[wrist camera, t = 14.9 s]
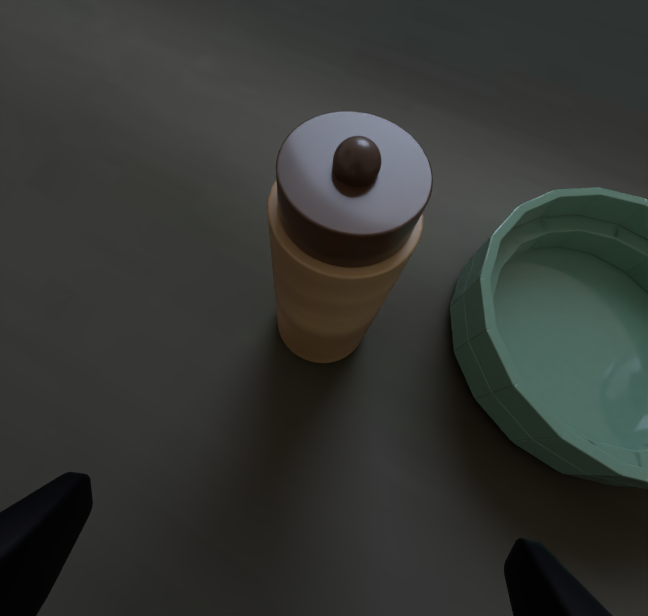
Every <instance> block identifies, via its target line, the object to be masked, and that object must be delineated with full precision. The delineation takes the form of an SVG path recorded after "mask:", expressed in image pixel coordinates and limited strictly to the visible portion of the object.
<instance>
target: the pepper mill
mask: <svg viewBox="0 0 648 616" xmlns="http://www.w3.org/2000/svg"><path fill="white" fill-rule="evenodd" d="M432 184H433V178H432V170H431V166H430V162H429V160H428V158H427V155H426V154H425V152H424V150H423V149H422V147H421V146H420V145H419V143H418V142H417V141H416V140H415V139H414V138H413V137H412V136H411V135H410V134H409V133H408V132H406V131H405V130H404V129H402V128H401V127H399V126H398V125H396V124H394V123H392V122H390V121H389V120H386V119H384V118H381V117H379V116H375V115H372V114H368V113H362V112H354V111H339V112H331V113H326V114H322V115H319V116H316V117H313V118H311V119H309V120H307V121H305V122H303V123H302V124H300V125H299V126H298V127H296V128H295V129H294V130H293V131H292V132H291V133H290V134H289V135H288V136H287V138H286V139H285V141H284V142H283V144H282V146H281V148H280V150H279V153H278V156H277V161H276V181H275V182H274V184H273V186H272V189H271V191H270V194H269V198H268V206H267V210H268V224H269V235H270V246H271V257H272V268H273V279H274V289H275V300H276V311H277V322H278V329H279V333H280V336H281V338H282V340H283V342H284V343H285V344H286V346H287V347H288V348H289V349H290V350H291V351H292V352H293V353H294V354H296V355H297V356H299V357H301V358H303V359H305V360H308V361H311V362H316V363H330V362H335V361H338V360H341V359H343V358H345V357H346V356H348V355H349V354H351V353H352V352H353V351H354V350H355V349H356V348H357V346H358V345H359V343H360V342H361V340H362V338H363V337H364V335H365V333H366V332H367V330H368V328H369V327H370V325H371V323H372V321H373V320H374V318H375V316H376V315H377V313H378V311H379V309H380V308H381V306H382V304H383V303H384V301H385V299H386V298H387V296H388V294H389V292H390V291H391V289H392V287H393V286H394V284H395V282H396V280H397V279H398V277H399V275H400V274H401V272H402V270H403V269H404V267H405V265H406V263H407V262H408V260H409V258H410V257H411V255H412V253H413V252H414V250H415V248H416V246H417V245H418V242H419V240H420V238H421V234H422V230H423V221H424V218H423V211H424V209H425V207H426V205H427V203H428V201H429V199H430V196H431V192H432Z"/></svg>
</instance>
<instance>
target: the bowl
mask: <svg viewBox="0 0 648 616" xmlns="http://www.w3.org/2000/svg"><path fill="white" fill-rule="evenodd" d="M450 313H451V325H452V337H453V348H454V354H455V356H456V358H457V361H458V363H459V365H460V367H461V370H462V372H463V374H464V376H465V379H466V381H467V383H468V386H469V388H470V390H471V392H472V395H473V397H474V399H476V401H477V402H478V403H479V404H480V406H481V407H482V408H483V409H484V410H485V411H486V413H487V414H488V415H489V416H490V417H491V418H492V420H493V421H494V422H495V423H496V424H497V425H498V427H499V428H500V429H501V430H502V431H503V432H504V433H505V435H506V436H507V437H508V438H509V439H510V440H511V441H512V442H513V443H514V444H516V445H517V446H519V447H520V448H522V449H524V450H525V451H527V452H528V453H530V454H531V455H533V456H535V457H536V458H538V459H539V460H541V461H542V462H544V463H546V464H547V465H549V466H550V467H552V468H553V469H555V470H557V471H558V472H561V473H562V474H566V475H570V476H574V477H578V478H582V479H587V480H591V481H595V482H599V483H603V484H607V485H611V486H622V487H636V488H648V199H645V198H642V197H638V196H633V195H629V194H625V193H621V192H617V191H612V190H608V189H604V188H598V187H596V188H576V189H557V190H553V191H551V192H548V193H546V194H544V195H542V196H539V197H537V198H535V199H532V200H530V201H528V202H525V203H523V204H521V205H519V206H517V207H516V208H515V209H514V211H513V212H512V213H511V214H510V215H509V216H508V217H507V218H506V220H505V221H504V222H503V223H502V224H501V225H500V226H499V227H498V229H497V230H496V231H495V232H494V233H493V234H492V235H491V236H490V238H489V239H488V240H487V241H486V242H485V243H484V244H483V245H482V247H481V248H480V249H479V250H478V251H477V252H476V253H475V254H474V256H473V257H472V258H471V259H470V260H469V261H468V262H467V263H466V265H465V266H464V267H463V268H462V270H461V272H460V275H459V278H458V282H457V285H456V288H455V291H454V294H453V298H452V301H451V304H450Z"/></svg>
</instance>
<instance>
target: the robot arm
mask: <svg viewBox="0 0 648 616" xmlns="http://www.w3.org/2000/svg"><path fill="white" fill-rule="evenodd" d="M92 504H93V500H92V491H91V482H90V477H89V476H88V475H87V474H82V473H75V472H67V473H65V474H63V475H61V476H59V477H58V478H56V479H54V480H53V481H51V482H49V483H48V484H46V485H44V486H43V487H41V488H40V489H38V490H36V491H35V492H33V493H31V494H30V495H28V496H26V497H25V498H23V499H22V500H20V501H18V502H17V503H15V504H13V505H12V506H10V507H8V508H7V509H5V510H3V511H2V512H0V616H36V615H37V613H38V612H39V610H40V608H41V607H42V605H43V603H44V602H45V600H46V598H47V597H48V595H49V593H50V591H51V589H52V587H53V585H54V583H55V582H56V580H57V578H58V576H59V574H60V572H61V570H62V568H63V566H64V564H65V562H66V560H67V558H68V556H69V554H70V552H71V550H72V548H73V546H74V544H75V542H76V540H77V538H78V536H79V534H80V533H81V531H82V529H83V527H84V525H85V523H86V521H87V519H88V517H89V515H90V512H91V509H92ZM504 575H505V580H506V584H507V589H508V593H509V598H510V602H511V607H512V611H513V616H612V615H611V614H610V613H609V612H608V611H607V610H606V609H605V608H604V607H603V606H602V604H601V603H600V602H599V601H598V600H597V599H596V598H595V597H594V596H593V595H592V594H591V593H590V592H589V591H588V590H587V589H586V588H585V587H584V586H583V585H582V584H581V583H580V582H579V581H578V580H577V579H576V578H575V577H574V576H573V575H572V574H571V573H570V572H569V571H568V570H567V569H566V568H565V567H564V566H563V565H562V564H561V562H560V561H559V560H558V559H557V558H556V557H555V556H554V555H553V554H552V553H551V552H550V551H549V550H548V549H547V548H546V547H545V546H544V545H543V544H542V543H540V542H539V541H536V540H532V539H525V538H519V539H517V540H516V542H515V544H514V545H513V547H512V549H511V551H510V553H509V555H508V557H507V559H506V561H505V565H504Z"/></svg>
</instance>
